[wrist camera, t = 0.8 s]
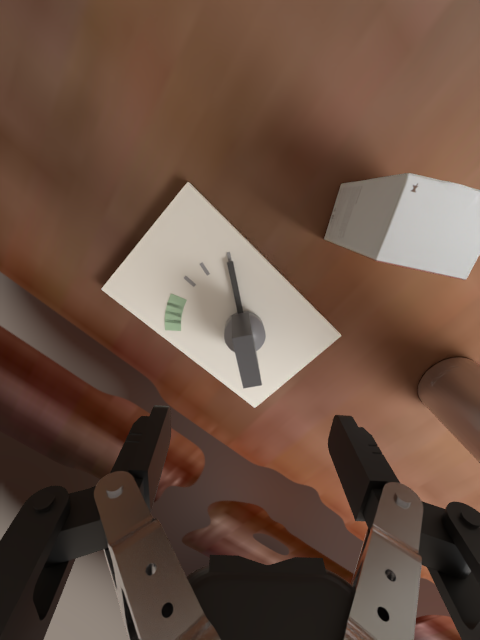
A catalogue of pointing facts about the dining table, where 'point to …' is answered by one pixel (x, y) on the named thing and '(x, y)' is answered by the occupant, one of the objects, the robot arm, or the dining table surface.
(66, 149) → the dining table surface
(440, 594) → the robot arm
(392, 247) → the small box
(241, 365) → the tuning knob
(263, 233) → the dining table surface
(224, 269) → the gauge board
